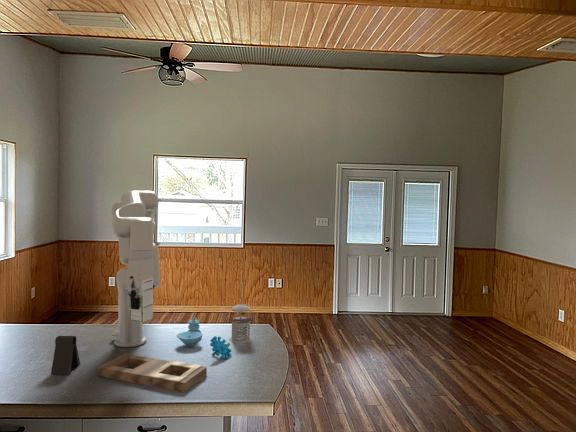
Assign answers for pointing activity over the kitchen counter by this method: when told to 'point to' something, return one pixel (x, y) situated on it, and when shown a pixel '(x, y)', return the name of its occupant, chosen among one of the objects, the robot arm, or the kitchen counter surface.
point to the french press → (241, 324)
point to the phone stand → (65, 355)
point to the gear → (220, 347)
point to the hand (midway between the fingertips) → (141, 306)
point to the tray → (153, 372)
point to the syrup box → (144, 302)
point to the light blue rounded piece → (191, 333)
